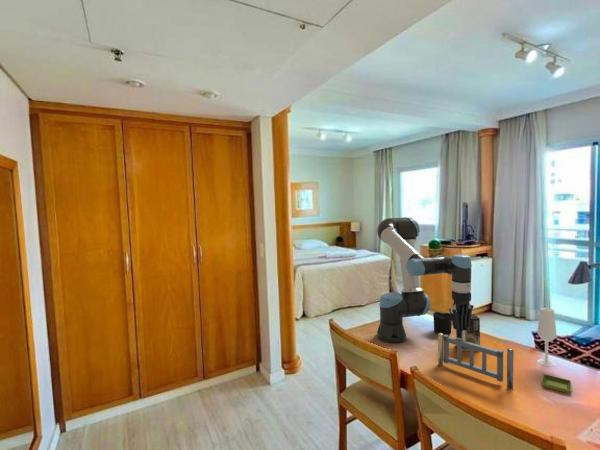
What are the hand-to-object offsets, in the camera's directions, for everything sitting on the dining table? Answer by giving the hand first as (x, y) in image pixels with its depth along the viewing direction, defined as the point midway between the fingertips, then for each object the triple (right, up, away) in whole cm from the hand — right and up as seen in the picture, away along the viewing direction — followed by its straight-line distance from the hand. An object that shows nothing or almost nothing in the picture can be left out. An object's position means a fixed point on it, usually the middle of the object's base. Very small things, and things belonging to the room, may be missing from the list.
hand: (461, 344), depth 141 cm
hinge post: (+11, -11, -16) cm, 22 cm away
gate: (+1, -9, -6) cm, 11 cm away
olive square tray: (+29, -11, -16) cm, 34 cm away
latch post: (-8, -10, +3) cm, 13 cm away
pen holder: (+9, -8, +38) cm, 40 cm away
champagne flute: (+38, -9, +1) cm, 39 cm away
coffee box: (+12, -9, +18) cm, 23 cm away
